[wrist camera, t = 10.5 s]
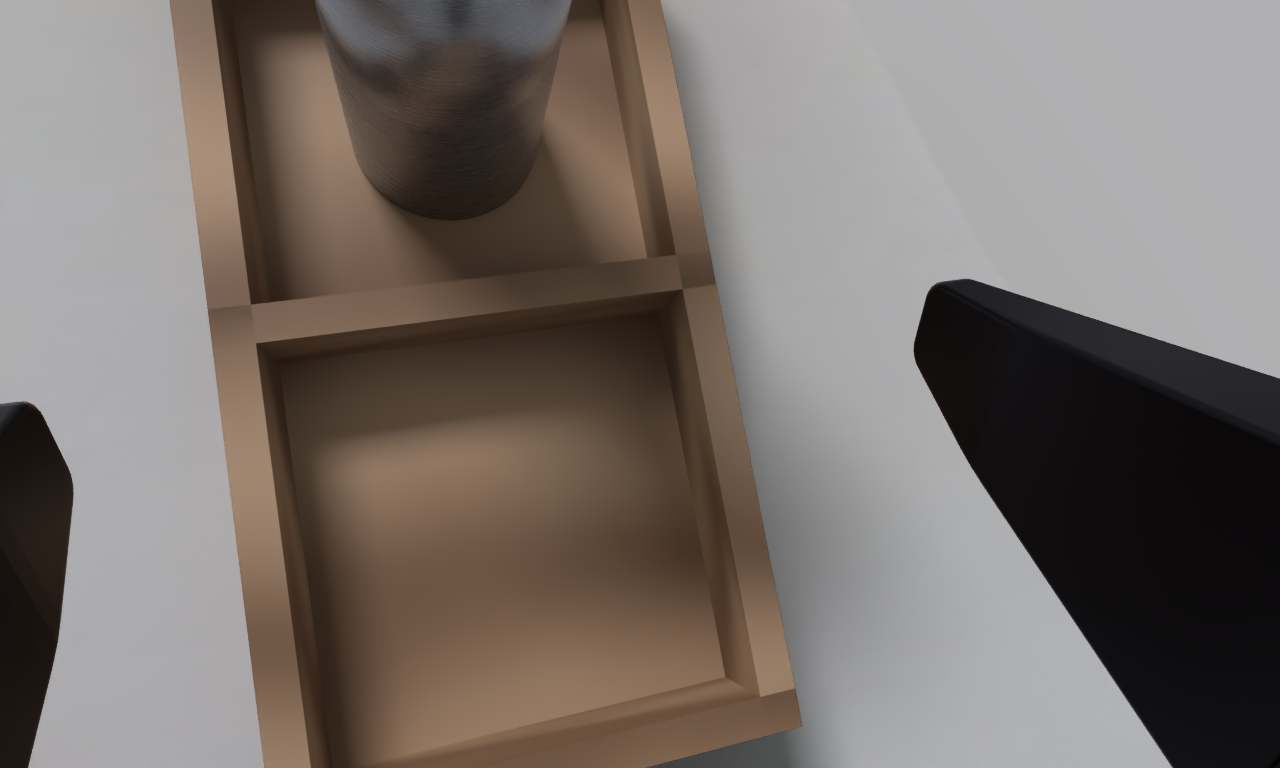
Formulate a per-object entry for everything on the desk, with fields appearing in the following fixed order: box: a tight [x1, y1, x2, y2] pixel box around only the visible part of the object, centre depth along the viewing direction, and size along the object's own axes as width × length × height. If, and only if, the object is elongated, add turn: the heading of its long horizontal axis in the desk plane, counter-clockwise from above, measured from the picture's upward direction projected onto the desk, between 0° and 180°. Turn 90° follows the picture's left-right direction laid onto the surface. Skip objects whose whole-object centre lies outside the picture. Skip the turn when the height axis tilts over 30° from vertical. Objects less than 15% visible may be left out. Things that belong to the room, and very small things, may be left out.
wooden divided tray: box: [170, 0, 802, 768], centre depth 20 cm, size 20×11×3 cm, turn 11°
